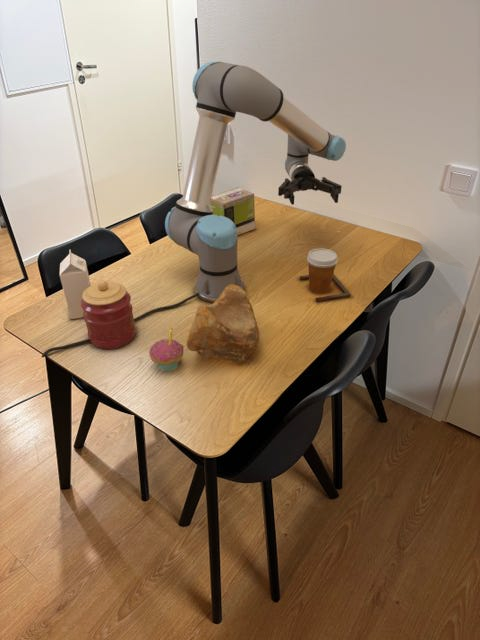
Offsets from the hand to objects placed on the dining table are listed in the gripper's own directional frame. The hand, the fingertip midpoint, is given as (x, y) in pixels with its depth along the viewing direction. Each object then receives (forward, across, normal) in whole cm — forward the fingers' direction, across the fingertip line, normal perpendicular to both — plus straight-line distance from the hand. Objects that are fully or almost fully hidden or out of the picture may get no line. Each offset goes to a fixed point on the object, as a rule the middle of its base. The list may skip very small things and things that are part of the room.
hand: (315, 199), depth 150 cm
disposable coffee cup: (+10, -1, -26) cm, 28 cm away
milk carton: (+16, +72, -26) cm, 78 cm away
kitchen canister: (+29, +61, -26) cm, 73 cm away
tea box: (-36, +23, -26) cm, 50 cm away
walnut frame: (+10, -2, -26) cm, 28 cm away
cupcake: (+43, +45, -26) cm, 68 cm away
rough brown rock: (+38, +29, -26) cm, 55 cm away
